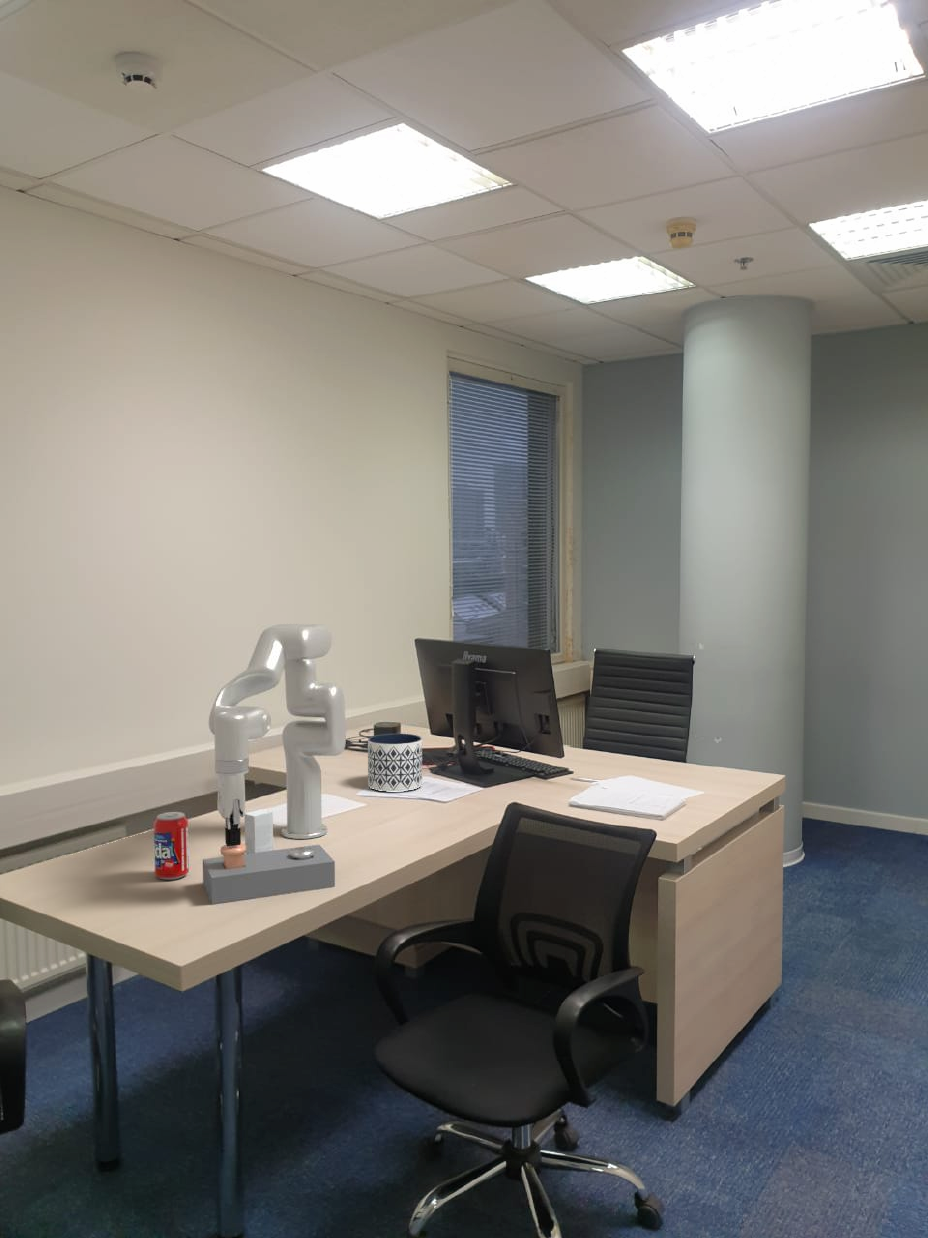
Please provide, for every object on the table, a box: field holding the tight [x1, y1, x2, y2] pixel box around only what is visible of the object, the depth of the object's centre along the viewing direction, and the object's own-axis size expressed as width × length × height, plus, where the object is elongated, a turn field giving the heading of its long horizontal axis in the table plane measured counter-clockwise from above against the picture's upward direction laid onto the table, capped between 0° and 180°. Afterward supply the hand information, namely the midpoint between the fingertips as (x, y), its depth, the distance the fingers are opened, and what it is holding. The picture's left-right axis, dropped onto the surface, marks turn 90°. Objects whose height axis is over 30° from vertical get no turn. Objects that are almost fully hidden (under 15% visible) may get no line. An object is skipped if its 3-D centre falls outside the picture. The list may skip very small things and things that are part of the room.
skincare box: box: [243, 808, 275, 854], centre depth 238 cm, size 6×4×12 cm
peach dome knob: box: [220, 843, 246, 869], centre depth 214 cm, size 6×6×6 cm
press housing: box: [202, 844, 336, 906], centre depth 218 cm, size 14×28×6 cm, turn 114°
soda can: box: [153, 811, 190, 881], centre depth 224 cm, size 8×8×15 cm
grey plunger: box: [290, 846, 314, 860], centre depth 221 cm, size 6×6×6 cm
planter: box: [367, 733, 423, 791], centre depth 313 cm, size 18×18×16 cm
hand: (233, 844), depth 214 cm, fingers closed
